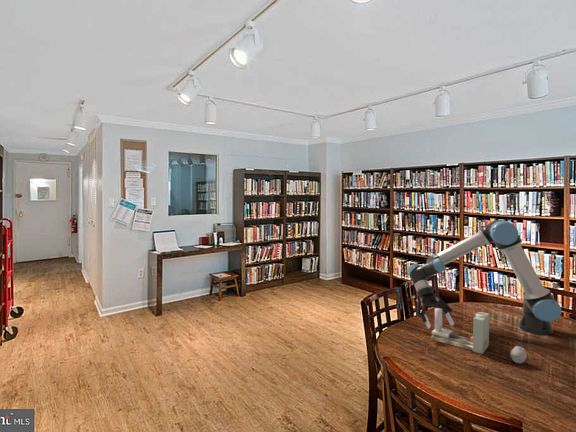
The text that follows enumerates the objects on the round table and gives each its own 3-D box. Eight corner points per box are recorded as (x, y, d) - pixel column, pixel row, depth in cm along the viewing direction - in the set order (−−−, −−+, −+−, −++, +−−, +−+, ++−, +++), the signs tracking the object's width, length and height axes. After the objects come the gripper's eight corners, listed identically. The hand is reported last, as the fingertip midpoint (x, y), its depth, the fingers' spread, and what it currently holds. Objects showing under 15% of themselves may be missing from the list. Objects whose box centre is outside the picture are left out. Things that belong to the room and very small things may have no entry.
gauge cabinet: (489, 345, 169) (490, 311, 168) (483, 354, 160) (484, 318, 159) (478, 342, 172) (479, 309, 171) (471, 351, 164) (472, 315, 163)
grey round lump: (529, 363, 151) (530, 347, 151) (522, 367, 147) (522, 351, 147) (514, 357, 156) (515, 342, 156) (506, 362, 153) (507, 346, 152)
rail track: (479, 343, 171) (479, 339, 171) (473, 350, 164) (473, 345, 164) (437, 333, 185) (437, 328, 185) (430, 339, 178) (430, 334, 177)
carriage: (459, 334, 177) (459, 310, 176) (454, 339, 171) (454, 315, 170) (437, 329, 184) (437, 306, 183) (431, 334, 178) (431, 310, 178)
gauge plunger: (480, 343, 167) (480, 338, 167) (479, 344, 166) (479, 339, 166) (471, 340, 170) (471, 336, 170) (470, 342, 168) (470, 337, 168)
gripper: (440, 291, 196) (458, 327, 183) (401, 295, 191) (416, 331, 177) (446, 284, 191) (466, 320, 177) (406, 288, 186) (422, 325, 172)
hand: (441, 326), depth 177 cm, fingers open, 13 cm apart
